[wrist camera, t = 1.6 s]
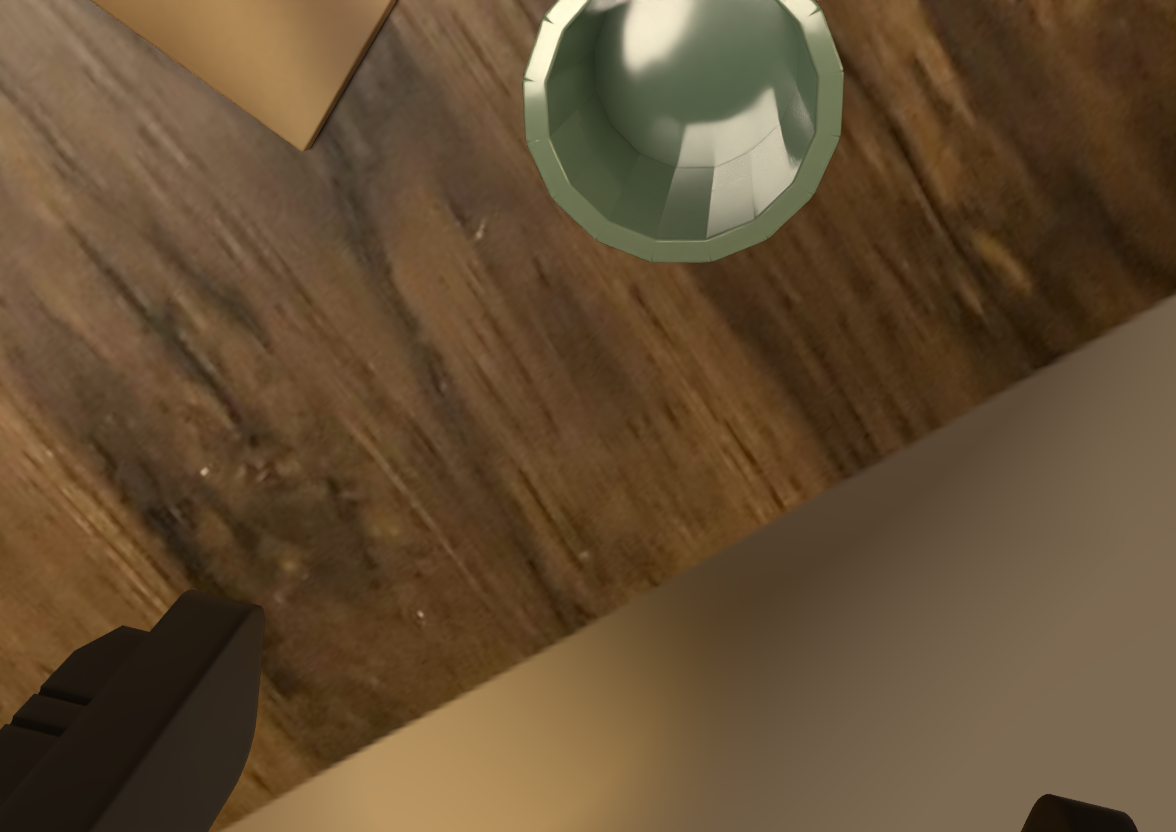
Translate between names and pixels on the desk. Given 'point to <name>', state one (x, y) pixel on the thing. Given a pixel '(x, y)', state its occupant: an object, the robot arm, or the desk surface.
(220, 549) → the desk surface
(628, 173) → the pot
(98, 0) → the spatula
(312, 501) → the desk surface
